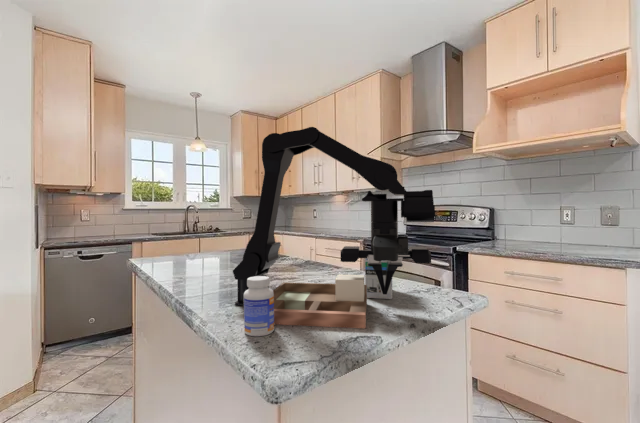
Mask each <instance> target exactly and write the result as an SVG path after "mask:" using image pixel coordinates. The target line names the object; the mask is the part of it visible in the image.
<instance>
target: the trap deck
mask: <svg viewBox="0 0 640 423" xmlns="http://www.w3.org/2000/svg"><path fill="white" fill-rule="evenodd" d="M272 290H273V292H274V325H284V326H305V327H324V328H325V327H326V328H327V327H329V328H347V329H348V328H349V329H366V325H367V307H368V305H367V304H368V298H367V285H365V284H364V302H363V301H336V296H335V283H316V282H315V283H313V282H307V283H306V282H281V283H280V284H279V285H278V286H277V287H276V288H274V289H272Z"/></svg>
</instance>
